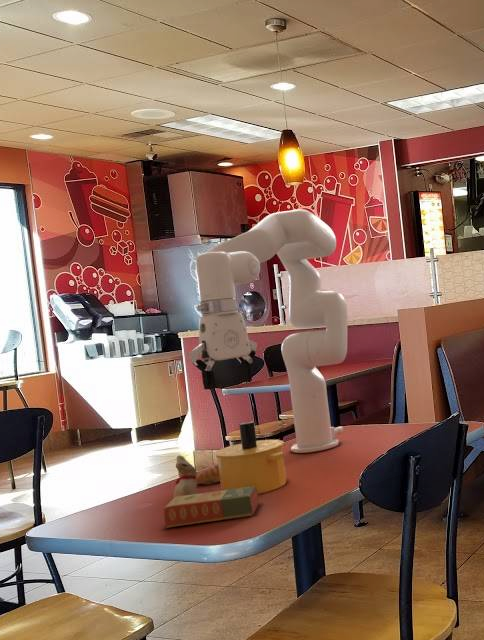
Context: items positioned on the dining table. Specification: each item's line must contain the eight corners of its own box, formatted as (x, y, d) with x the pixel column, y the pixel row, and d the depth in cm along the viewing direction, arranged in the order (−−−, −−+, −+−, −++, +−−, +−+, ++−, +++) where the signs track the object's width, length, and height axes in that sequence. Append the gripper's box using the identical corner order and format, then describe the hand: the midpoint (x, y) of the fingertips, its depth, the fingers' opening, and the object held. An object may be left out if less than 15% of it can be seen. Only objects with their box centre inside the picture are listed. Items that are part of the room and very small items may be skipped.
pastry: (201, 487, 171) (199, 471, 171) (192, 483, 176) (190, 467, 176) (241, 477, 177) (239, 461, 177) (231, 474, 182) (229, 458, 182)
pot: (250, 476, 176) (246, 441, 176) (307, 480, 166) (302, 443, 166) (201, 494, 165) (196, 456, 165) (258, 499, 155) (253, 459, 154)
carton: (177, 516, 148) (174, 495, 148) (259, 504, 151) (257, 483, 150) (165, 529, 140) (162, 506, 140) (253, 516, 142) (250, 494, 142)
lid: (254, 443, 175) (251, 415, 175) (297, 445, 167) (294, 416, 167) (201, 459, 163) (197, 429, 163) (245, 462, 155) (241, 430, 155)
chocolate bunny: (209, 494, 164) (203, 449, 163) (181, 505, 157) (175, 458, 156) (190, 494, 166) (185, 449, 166) (162, 505, 159) (156, 459, 159)
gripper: (195, 310, 155) (205, 392, 155) (261, 303, 169) (270, 378, 170) (174, 313, 159) (183, 392, 160) (240, 306, 174) (249, 379, 174)
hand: (228, 385), depth 165 cm, fingers open, 9 cm apart
